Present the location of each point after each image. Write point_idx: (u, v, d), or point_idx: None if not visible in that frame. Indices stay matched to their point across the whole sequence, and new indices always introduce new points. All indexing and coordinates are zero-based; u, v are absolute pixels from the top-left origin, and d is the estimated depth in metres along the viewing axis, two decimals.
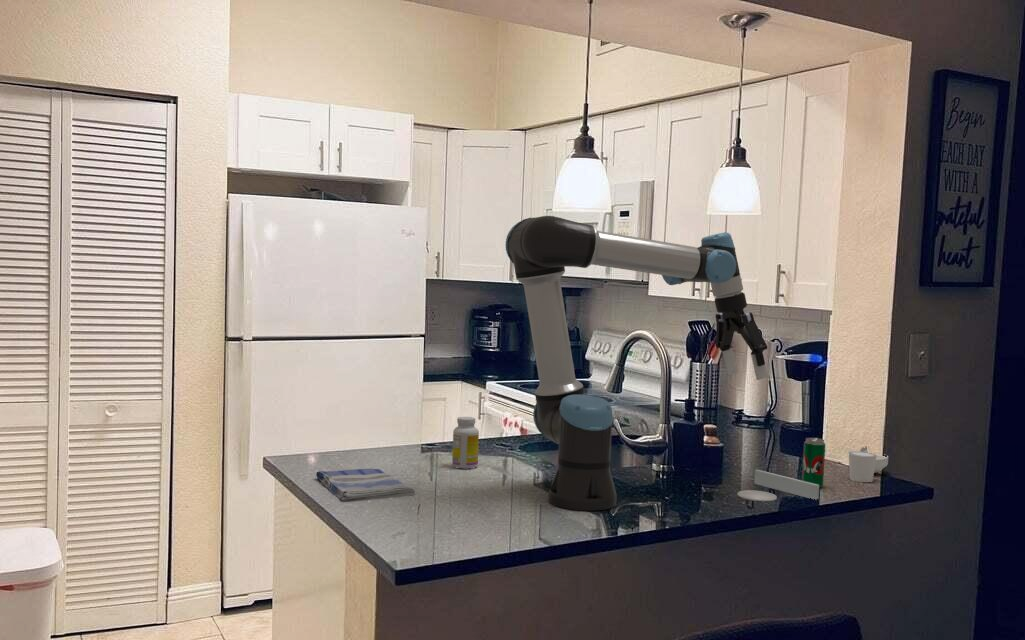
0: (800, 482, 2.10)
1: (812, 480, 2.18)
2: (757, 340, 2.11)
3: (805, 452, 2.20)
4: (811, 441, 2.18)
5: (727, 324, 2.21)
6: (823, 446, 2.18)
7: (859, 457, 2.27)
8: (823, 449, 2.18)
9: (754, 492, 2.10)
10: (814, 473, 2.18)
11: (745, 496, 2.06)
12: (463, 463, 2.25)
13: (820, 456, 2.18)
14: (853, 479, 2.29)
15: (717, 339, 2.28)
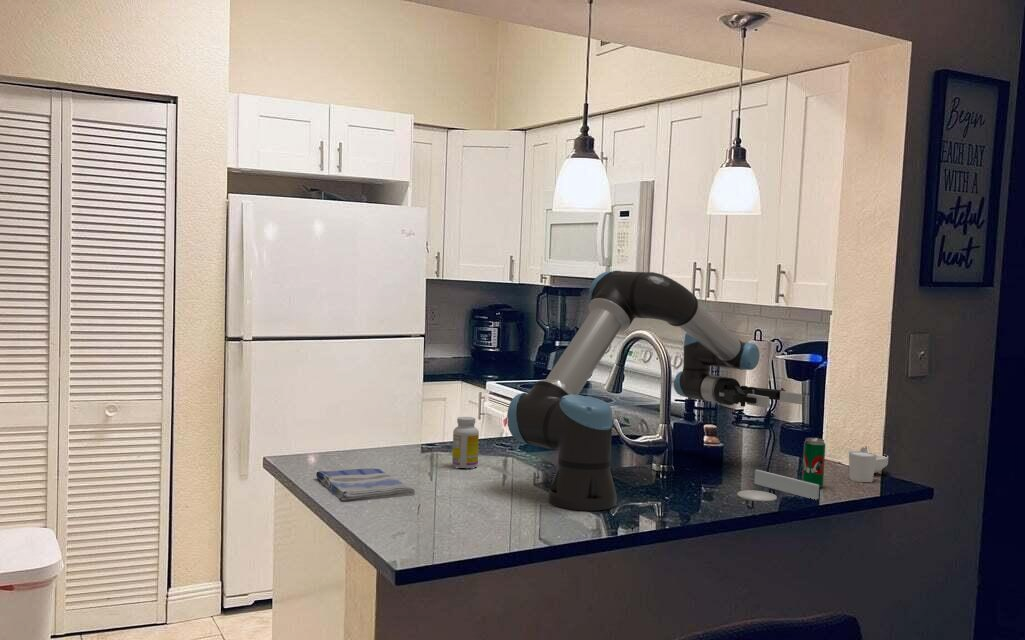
0: (800, 482, 2.10)
1: (812, 480, 2.18)
2: None
3: (805, 452, 2.20)
4: (811, 441, 2.18)
5: None
6: (823, 446, 2.18)
7: (859, 457, 2.27)
8: (823, 449, 2.18)
9: (754, 492, 2.10)
10: (814, 473, 2.18)
11: (745, 496, 2.06)
12: (463, 463, 2.25)
13: (820, 456, 2.18)
14: (853, 479, 2.29)
15: (734, 393, 2.30)
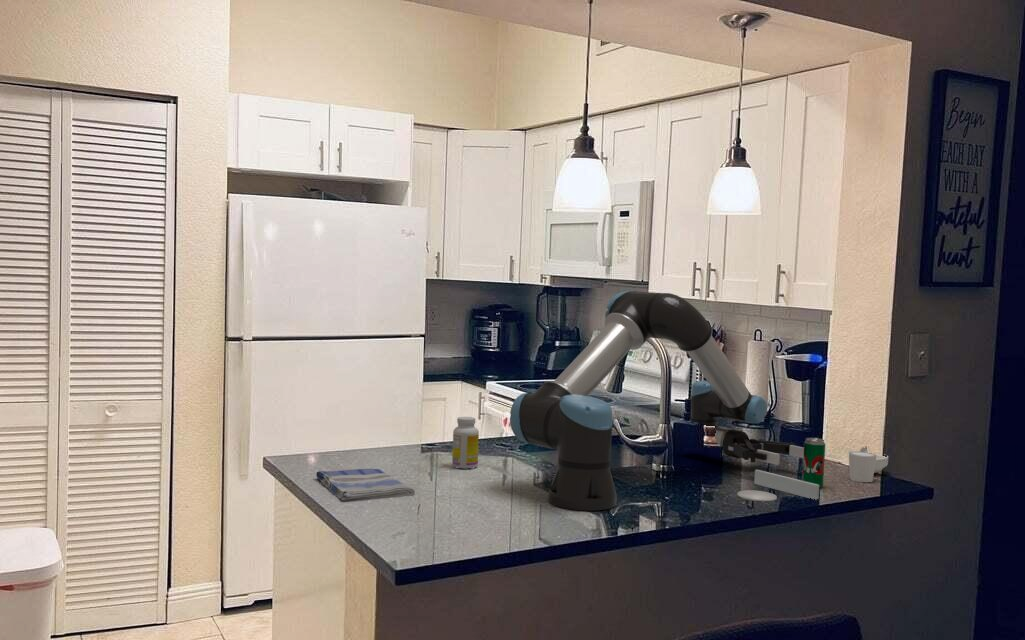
0: (800, 482, 2.10)
1: (812, 480, 2.18)
2: None
3: (805, 452, 2.20)
4: (811, 441, 2.18)
5: None
6: (823, 446, 2.18)
7: (859, 457, 2.27)
8: (823, 449, 2.18)
9: (754, 492, 2.10)
10: (814, 473, 2.18)
11: (745, 496, 2.06)
12: (463, 463, 2.25)
13: (820, 456, 2.18)
14: (853, 479, 2.29)
15: (744, 448, 2.28)
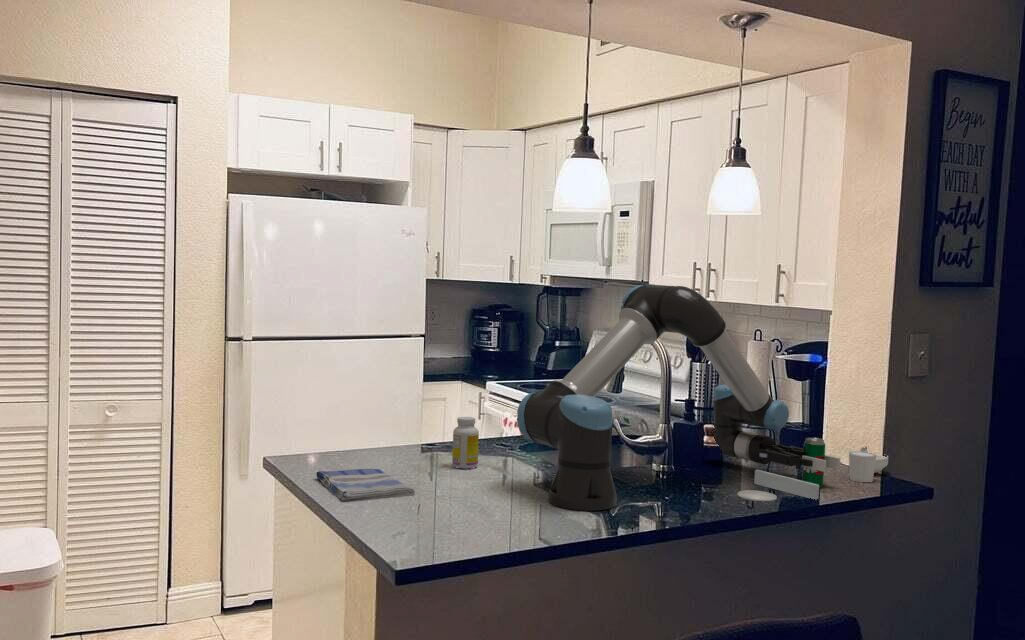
0: (800, 482, 2.10)
1: (812, 479, 2.18)
2: None
3: (805, 452, 2.20)
4: (811, 441, 2.18)
5: None
6: (823, 446, 2.18)
7: (859, 457, 2.27)
8: (823, 449, 2.18)
9: (754, 492, 2.10)
10: (814, 473, 2.18)
11: (745, 496, 2.06)
12: (463, 463, 2.25)
13: (820, 456, 2.18)
14: (853, 479, 2.29)
15: (785, 454, 2.21)
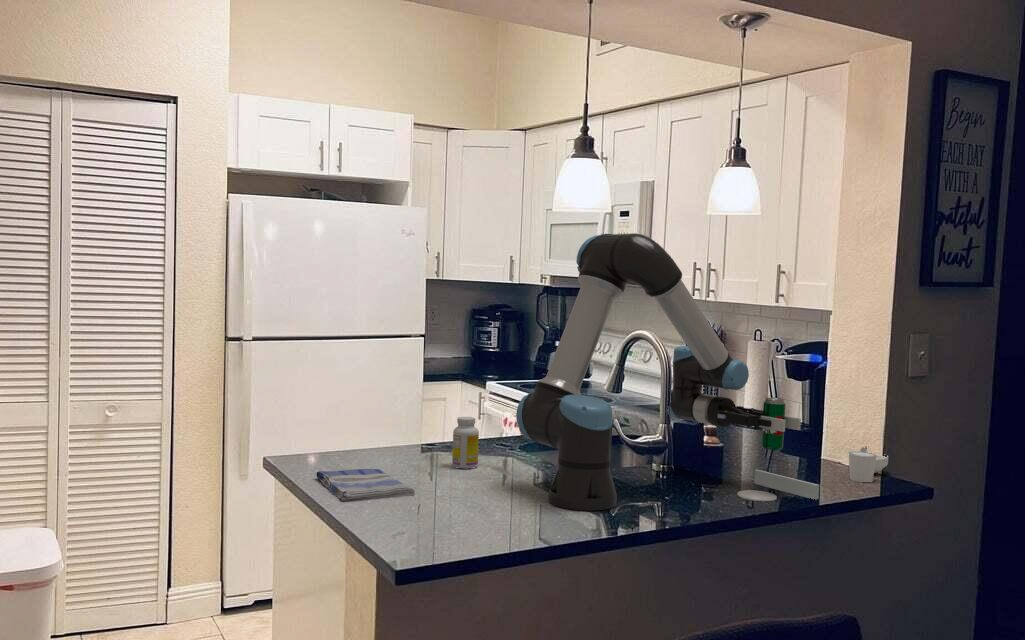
0: (800, 482, 2.10)
1: (771, 441, 2.08)
2: None
3: (764, 412, 2.09)
4: (770, 400, 2.08)
5: None
6: (783, 406, 2.08)
7: (859, 457, 2.27)
8: (783, 409, 2.08)
9: (754, 492, 2.10)
10: (773, 434, 2.08)
11: (745, 496, 2.06)
12: (463, 463, 2.25)
13: (780, 416, 2.07)
14: (853, 479, 2.29)
15: (743, 414, 2.10)
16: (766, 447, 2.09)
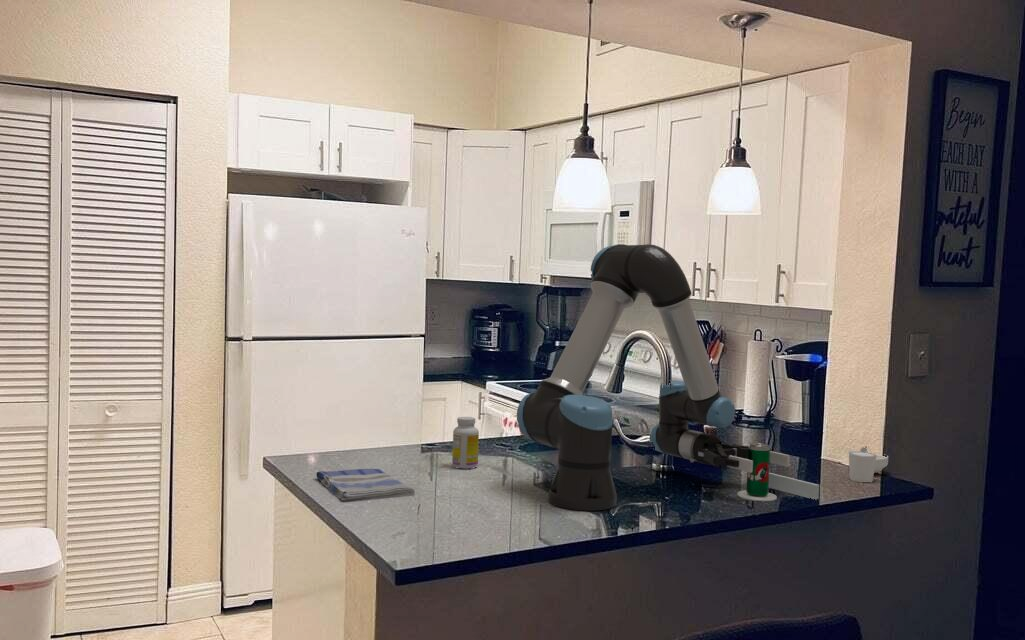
0: (800, 482, 2.10)
1: (755, 487, 2.06)
2: None
3: (749, 458, 2.07)
4: (755, 446, 2.06)
5: None
6: (767, 452, 2.06)
7: (859, 457, 2.27)
8: (767, 455, 2.06)
9: None
10: (758, 481, 2.05)
11: (745, 496, 2.06)
12: (463, 463, 2.25)
13: (764, 463, 2.05)
14: (853, 479, 2.29)
15: (714, 454, 2.08)
16: (751, 494, 2.06)
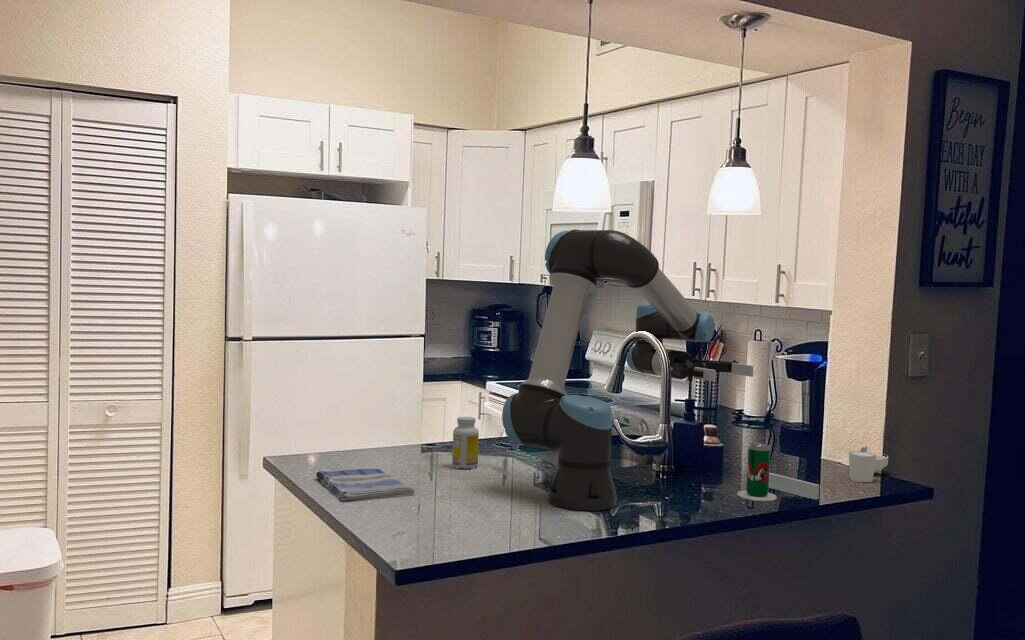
0: (800, 482, 2.10)
1: (755, 488, 2.06)
2: None
3: (749, 458, 2.07)
4: (755, 447, 2.06)
5: (689, 361, 2.28)
6: (768, 452, 2.06)
7: (859, 457, 2.27)
8: (768, 455, 2.06)
9: None
10: (758, 481, 2.05)
11: (745, 496, 2.06)
12: (463, 463, 2.25)
13: (764, 463, 2.05)
14: (853, 479, 2.29)
15: (681, 366, 2.21)
16: (751, 494, 2.06)
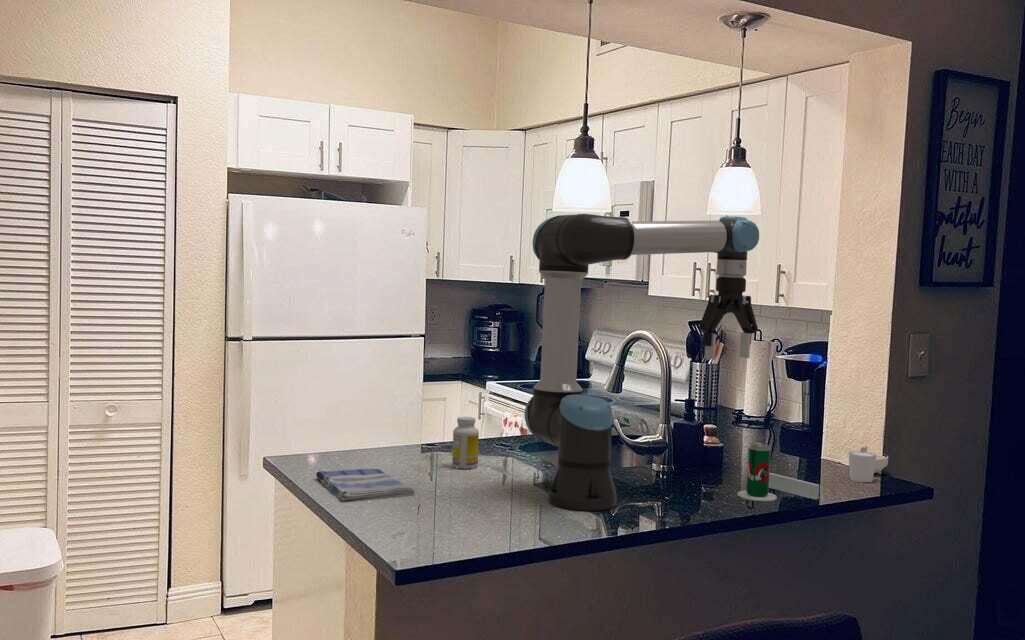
0: (800, 482, 2.10)
1: (756, 487, 2.06)
2: (703, 320, 2.23)
3: (749, 458, 2.07)
4: (755, 447, 2.06)
5: None
6: (768, 452, 2.05)
7: (859, 457, 2.27)
8: (768, 455, 2.06)
9: None
10: (758, 481, 2.05)
11: (745, 496, 2.06)
12: (463, 463, 2.25)
13: (765, 463, 2.05)
14: (853, 479, 2.29)
15: None
16: (751, 494, 2.06)
